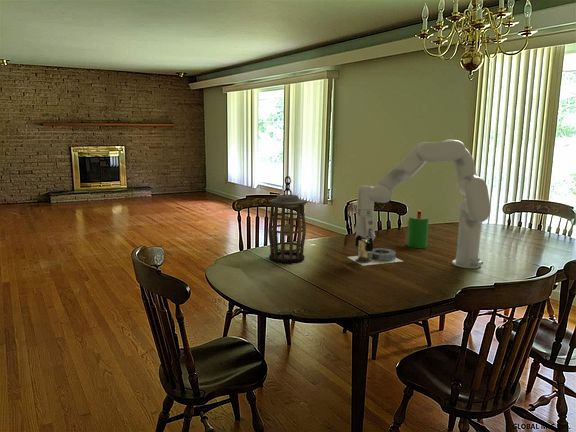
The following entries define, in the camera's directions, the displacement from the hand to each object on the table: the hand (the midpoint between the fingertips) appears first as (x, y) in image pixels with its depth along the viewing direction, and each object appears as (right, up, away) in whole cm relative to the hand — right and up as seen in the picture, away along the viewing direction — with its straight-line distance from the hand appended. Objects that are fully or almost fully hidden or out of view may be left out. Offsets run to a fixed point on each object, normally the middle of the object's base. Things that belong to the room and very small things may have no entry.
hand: (363, 248), depth 212 cm
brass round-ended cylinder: (0, -6, +1) cm, 6 cm away
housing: (+10, -5, +7) cm, 13 cm away
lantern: (-36, -6, +6) cm, 37 cm away
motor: (+35, -1, +34) cm, 49 cm away
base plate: (+6, -6, +5) cm, 10 cm away
